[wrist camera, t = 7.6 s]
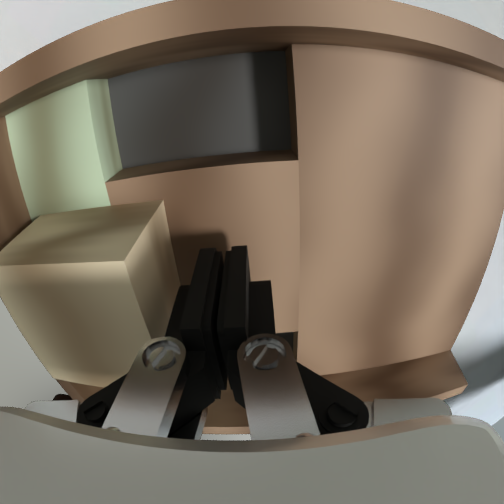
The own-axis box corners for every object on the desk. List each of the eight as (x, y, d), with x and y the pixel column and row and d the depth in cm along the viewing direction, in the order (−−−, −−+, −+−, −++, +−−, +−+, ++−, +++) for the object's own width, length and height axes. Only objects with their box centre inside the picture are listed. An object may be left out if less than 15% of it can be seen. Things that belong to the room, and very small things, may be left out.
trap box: (490, 64, 8) (564, 77, 4) (434, 339, 18) (461, 393, 13) (16, 96, 9) (-59, 118, 5) (112, 362, 18) (92, 421, 14)
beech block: (163, 200, 10) (124, 260, 7) (189, 322, 13) (175, 395, 10) (40, 215, 10) (-15, 266, 7) (82, 319, 14) (53, 378, 10)
